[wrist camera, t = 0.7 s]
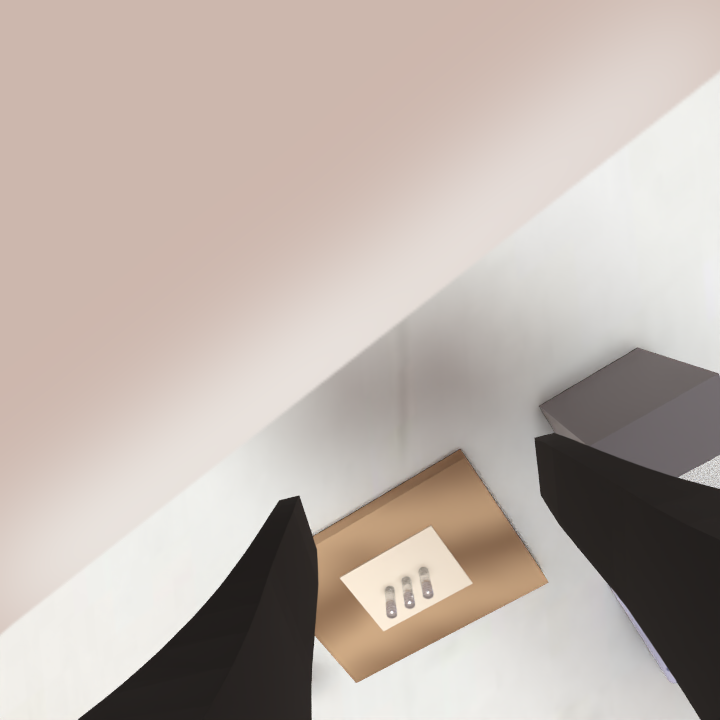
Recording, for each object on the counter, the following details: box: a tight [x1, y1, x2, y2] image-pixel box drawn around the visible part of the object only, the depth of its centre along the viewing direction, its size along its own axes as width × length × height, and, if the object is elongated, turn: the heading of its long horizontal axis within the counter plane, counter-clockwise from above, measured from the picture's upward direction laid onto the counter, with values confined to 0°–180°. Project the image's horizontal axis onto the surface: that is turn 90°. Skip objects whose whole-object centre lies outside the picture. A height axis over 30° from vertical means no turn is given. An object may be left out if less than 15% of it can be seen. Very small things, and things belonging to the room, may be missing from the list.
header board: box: [313, 449, 548, 683], centre depth 24 cm, size 10×14×3 cm
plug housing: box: [539, 348, 720, 477], centre depth 20 cm, size 4×6×5 cm, turn 124°
